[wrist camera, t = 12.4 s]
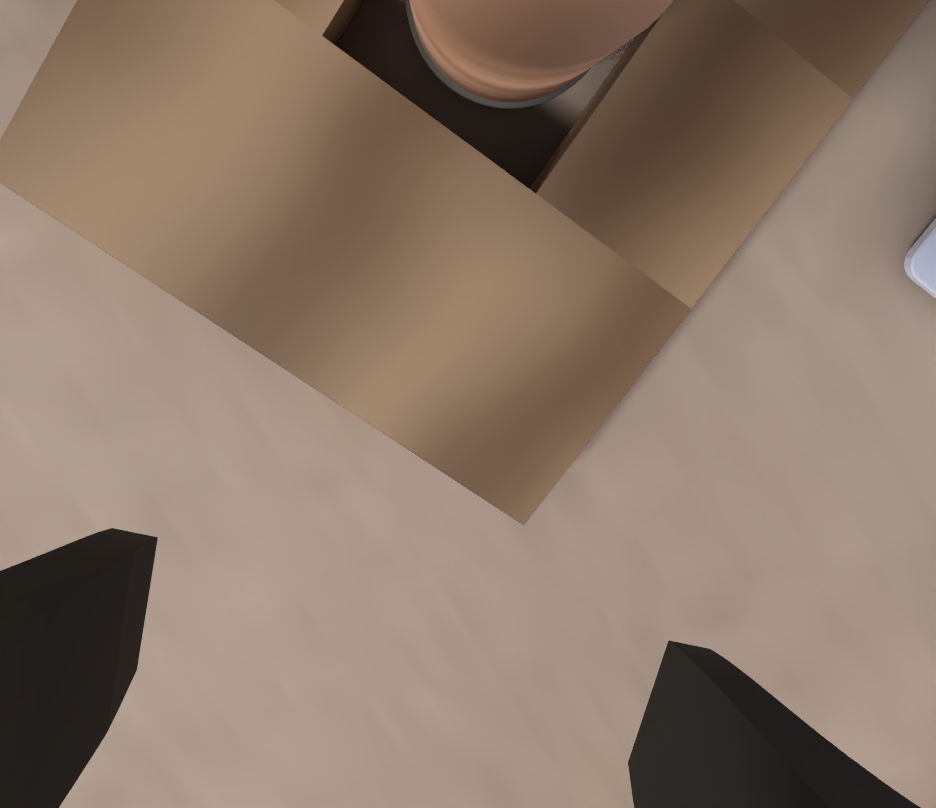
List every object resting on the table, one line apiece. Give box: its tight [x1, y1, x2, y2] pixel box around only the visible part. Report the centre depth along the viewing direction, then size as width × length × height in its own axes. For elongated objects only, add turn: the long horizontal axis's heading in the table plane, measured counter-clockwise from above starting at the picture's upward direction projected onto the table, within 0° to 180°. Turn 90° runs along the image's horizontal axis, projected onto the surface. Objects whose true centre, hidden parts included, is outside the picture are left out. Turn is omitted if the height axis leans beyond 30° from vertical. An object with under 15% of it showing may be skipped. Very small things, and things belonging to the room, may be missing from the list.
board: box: [0, 0, 929, 525], centre depth 18 cm, size 14×18×2 cm
